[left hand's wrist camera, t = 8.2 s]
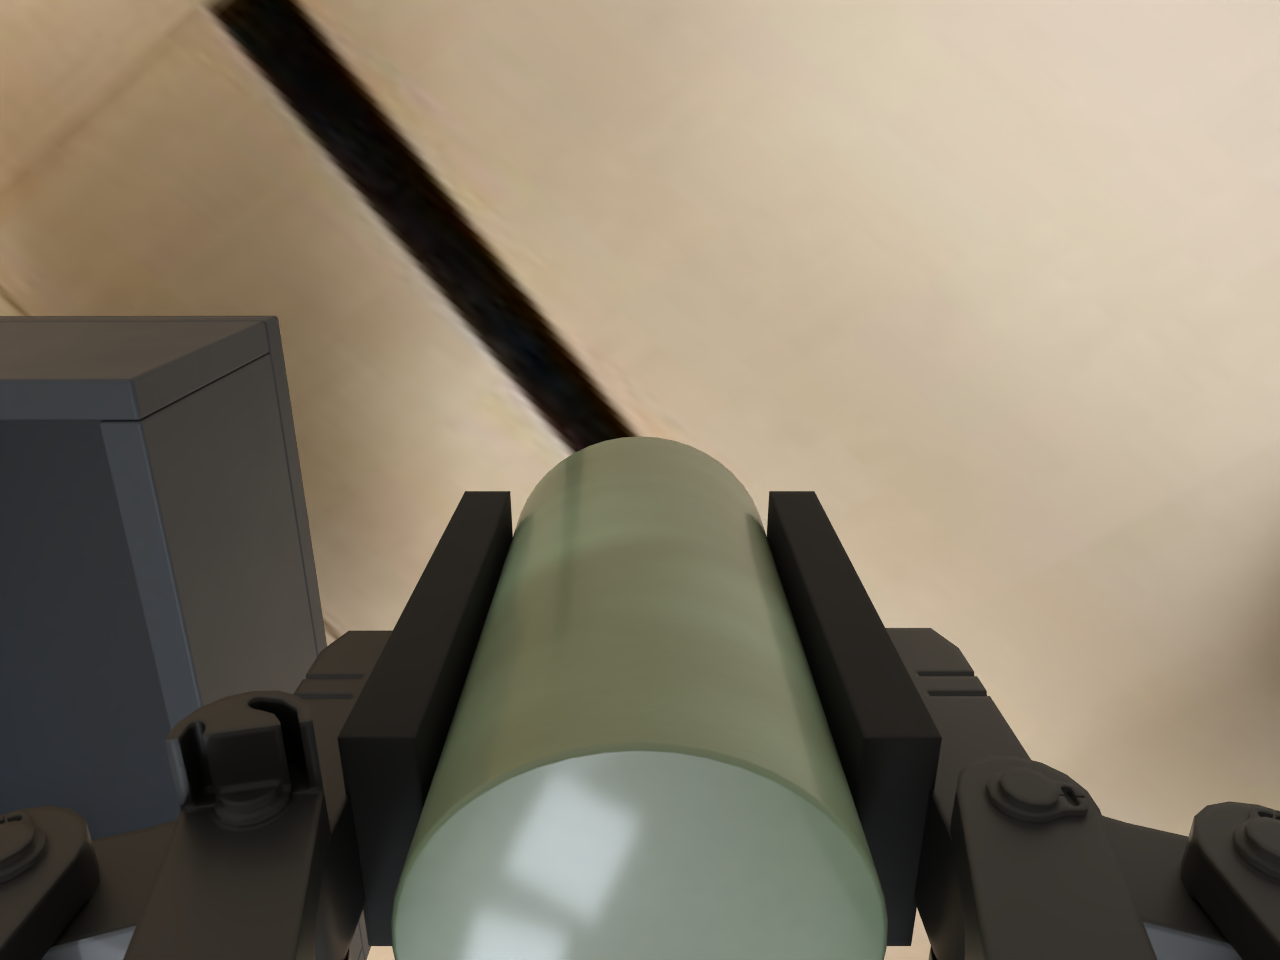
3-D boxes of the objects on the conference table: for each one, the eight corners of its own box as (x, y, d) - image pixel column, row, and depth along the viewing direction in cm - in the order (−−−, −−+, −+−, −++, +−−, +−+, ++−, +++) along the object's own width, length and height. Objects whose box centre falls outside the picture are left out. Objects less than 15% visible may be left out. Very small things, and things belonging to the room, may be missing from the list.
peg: (771, 435, 14) (916, 746, 7) (758, 662, 16) (865, 1117, 8) (507, 435, 14) (362, 746, 7) (520, 662, 16) (413, 1118, 8)
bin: (278, 315, 22) (131, 379, 16) (372, 944, 30) (299, 1160, 23) (-252, 316, 22) (-616, 380, 16) (-22, 944, 30) (-204, 1160, 23)
